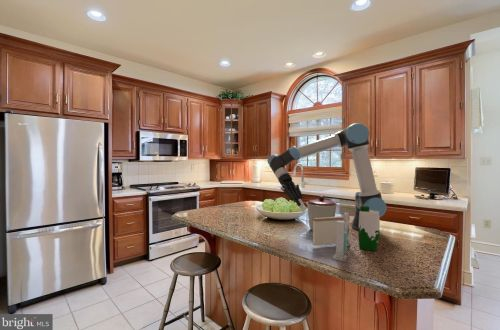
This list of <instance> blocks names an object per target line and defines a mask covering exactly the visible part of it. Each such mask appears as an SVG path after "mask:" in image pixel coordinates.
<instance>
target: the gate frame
mask: <svg viewBox="0 0 500 330" xmlns="http://www.w3.org/2000/svg"><path fill="white" fill-rule="evenodd" d="M343 217H344V220H343V221H337V232H336V244H335V253H334V254H333V257H332V260H333V261H334V260H335V261H340V262H343V263H344V262H346V260H347V259H348V256H347V255H345V253H346V252H347V251H348V247H350V246H351V242H350V241H349V240H350V212H344V213H343Z"/></svg>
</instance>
